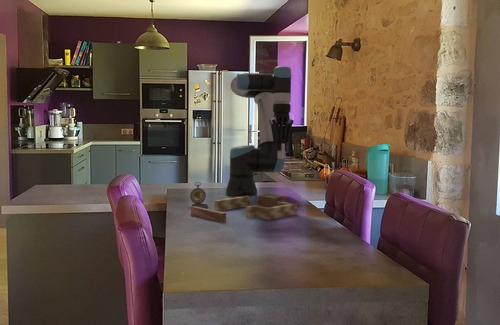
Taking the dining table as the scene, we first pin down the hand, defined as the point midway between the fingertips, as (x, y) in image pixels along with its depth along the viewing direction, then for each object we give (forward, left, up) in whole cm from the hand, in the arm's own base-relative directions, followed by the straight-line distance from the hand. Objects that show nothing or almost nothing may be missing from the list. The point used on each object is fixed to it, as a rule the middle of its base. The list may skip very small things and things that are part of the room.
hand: (280, 158), depth 232 cm
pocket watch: (+31, -17, -20) cm, 41 cm away
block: (+8, +3, -20) cm, 22 cm away
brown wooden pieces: (+28, +6, -20) cm, 35 cm away
